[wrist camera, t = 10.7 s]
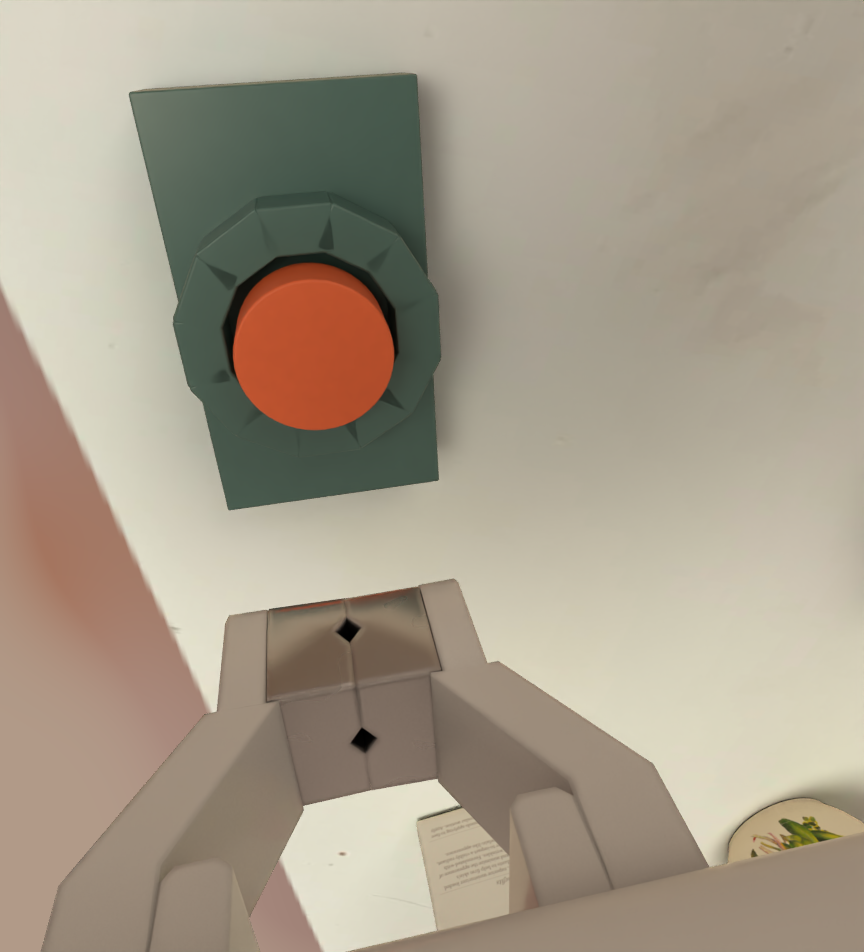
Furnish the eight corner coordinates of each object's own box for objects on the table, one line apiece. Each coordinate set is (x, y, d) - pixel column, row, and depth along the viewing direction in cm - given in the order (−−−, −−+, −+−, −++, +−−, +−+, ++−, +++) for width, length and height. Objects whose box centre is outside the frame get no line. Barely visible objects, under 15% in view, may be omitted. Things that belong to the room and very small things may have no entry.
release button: (222, 270, 18) (216, 288, 16) (379, 254, 18) (388, 271, 17) (251, 412, 20) (249, 440, 18) (391, 394, 20) (400, 420, 19)
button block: (142, 89, 19) (112, 95, 15) (403, 72, 20) (430, 75, 16) (231, 477, 25) (224, 543, 21) (427, 450, 26) (450, 509, 22)
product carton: (434, 880, 40) (463, 1032, 33) (414, 817, 36) (442, 973, 30) (537, 849, 40) (585, 995, 34) (526, 785, 37) (578, 932, 31)
